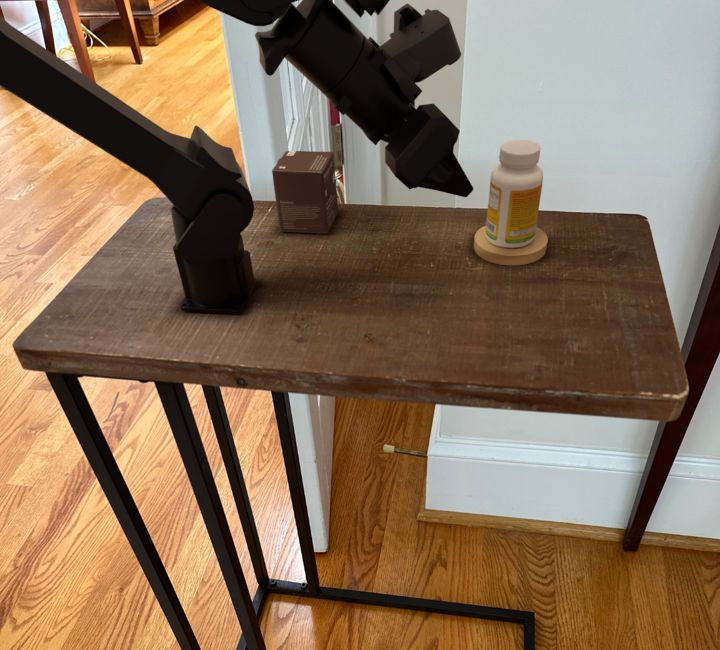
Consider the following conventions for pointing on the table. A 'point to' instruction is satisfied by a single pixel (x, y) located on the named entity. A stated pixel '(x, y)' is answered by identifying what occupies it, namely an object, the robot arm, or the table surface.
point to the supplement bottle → (514, 195)
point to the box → (305, 191)
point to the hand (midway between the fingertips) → (453, 174)
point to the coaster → (510, 249)
